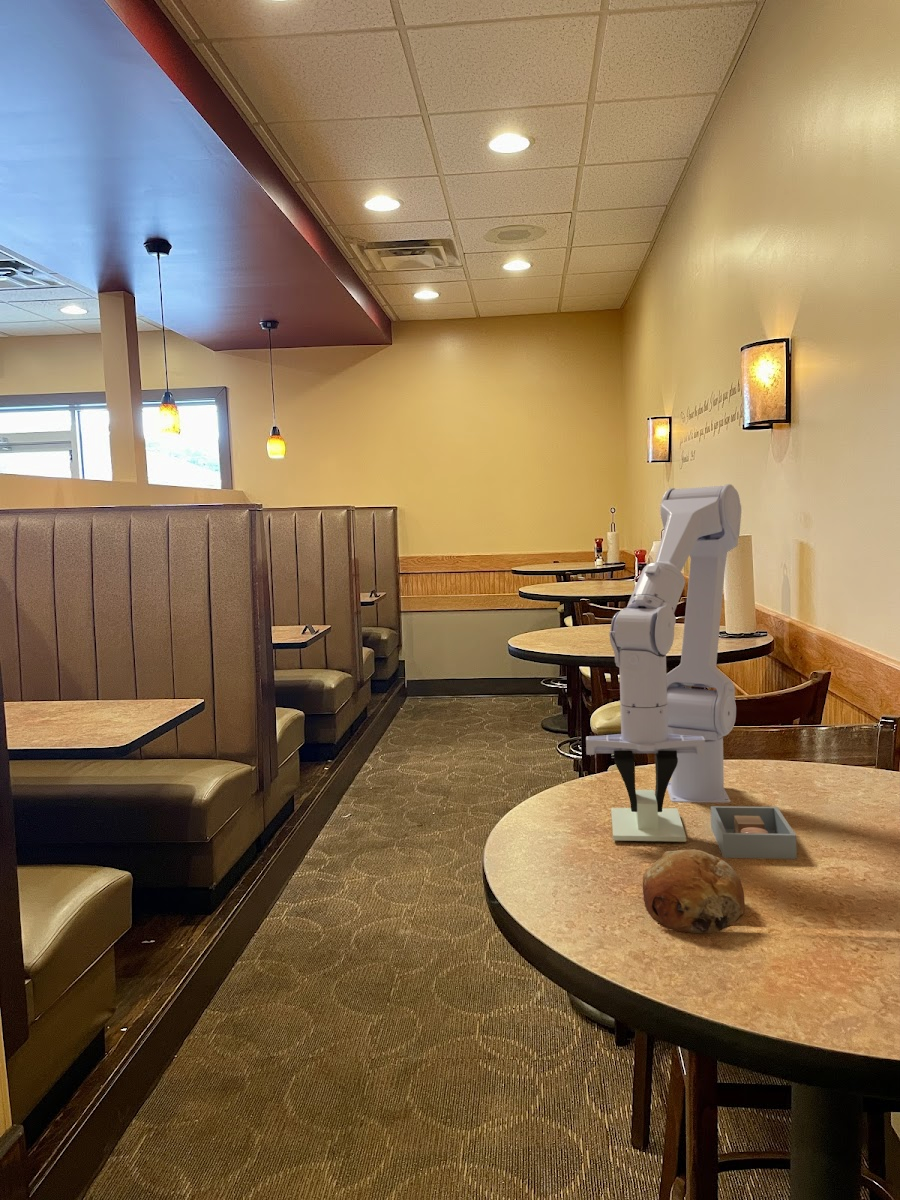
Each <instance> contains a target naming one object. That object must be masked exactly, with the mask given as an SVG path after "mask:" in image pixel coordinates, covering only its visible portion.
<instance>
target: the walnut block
mask: <svg viewBox="0 0 900 1200" xmlns="http://www.w3.org/2000/svg"><path fill="white" fill-rule="evenodd" d="M748 827H756V828H761V829H764V823H763V821H762V819H761V818H760V816H734V833H741V830H742V829H743V828H748Z"/></svg>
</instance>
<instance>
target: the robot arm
mask: <svg viewBox="0 0 900 1200" xmlns="http://www.w3.org/2000/svg"><path fill="white" fill-rule="evenodd" d="M741 504H742V503H741V498H740V494H739V491H737V489H736V487H734V485H733V484H730V483H729V484H724V485H718V486H717V485H716V486H705V487H704V486H701V487H700V486H699V487H688V488H686V487H685V488H675V487H672V488H668V489H667V490H666V491H665V492H664V494H663V496H662V497H661V502H660V510H659V511H660V518H661V522H662V526H663V532H662V536H661V538H660V539H661V540H660V543H659V546H658V549H657V552H656V557H655V559H654V562H651V563H648V564H646V565H644V567H643V568H642V570H641V573H640V575H639V577H638V579H637V582H636V584H635V587H634V589H633V591H632V594H631V596H630V598H629V601H628V603H627V606H626V607H623V608H622V609H620V611H617V612H616V613H615V614H614V615H613V616H612V619H611V624H610V631H609V633H608V634H609V642H610V645H611V648H612V650H613V654H614V663H615V666H616V667H617V668H619V695H620V696H619V698H620V699H619V701H620V704H619V705H620V733H617V734H616V733H615V734H606V735H605V734H604V735H589V736H585V746H586V747H585V752H586V753H585V754H586V755H587V756H588V755H589V756H593V755H596V754H613V760H614V764H615V766H616V768H617V770H618V772H619V774H620V776H621V779H622V781H623V783H624V786H625V788H626V791H627V794H628V798H629V803H630V808H631V811H632V812H637V800H636V791H635V790H636V763H635V762H636V761H635V755H634V754H654V764H655V765H654V767H655V790H654V792H655V796H656V800H657V805H658V812H662V808H663V806H664V799H665V796H666V791H667V792H668V796H669V799H670V802H672V803H712V804H713V803H715V804H716V803H718V804H719V803H723V804H725V803H726V804H728V803H731V799H730V796H729V795H728V793H727V791H726V789H725V785H724V783H725V781H724V780H725V779H724V776H725V775H724V771H725V770H724V737H725V736H727V735H729V734H730V733H731V732H732V730H733V728H734V725H735V723H736V718H737V705H736V697H735V696H736V695H735V694H736V688H735V684H734V682H733V681H732V679H731V678H729V677H728V676H727V675H726V674H725V673H723V672H722V671H721V670H720V668H718V667H717V662H718V661H717V660H718V652H719V651H718V649H719V638H720V630H721V629H720V627H721V619H722V618H721V615H722V605H723V596H724V595H723V593H724V584H725V583H724V581H725V572H726V563H727V556H728V553H729V552H731V550H733V549H735V548H737V547H738V545H739V537H740V535H741V534H740V530H741V522H742V505H741ZM689 557H690V560H689V561H690V563H689V571H688V572H689V573H688V582H687V583H688V584H687V594H686V595H687V596H686V605H685V615H684V625H683V633H682V634H683V635H682V636H683V637H682V643H681V644H682V646H681V658H680V663H679V665H678V666H675V668H673V669H672V670H670V671H669V672H667V654H668V653H669V652H670V650H671V648H672V646H673V643H674V639H675V626H676V623H677V622H676V620H677V618H676V616H675V612H676V610H677V606H678V604H679V601H680V599H681V596H682V595H683V594H682V593H683V591H684V587H685V585H686V579H685V576H684V575H683V573H682V570H683V568H684V566H685V565H686V563H687V561H688V559H689ZM692 687H698V688H692ZM703 688H705V689H703ZM706 688H708V689H706ZM709 688H710V689H709Z"/></svg>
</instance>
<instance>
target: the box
mask: <svg viewBox="0 0 900 1200" xmlns="http://www.w3.org/2000/svg"><path fill="white" fill-rule="evenodd" d="M734 816H760V818H761V819H762V821H763V823H764V830H766V831H768V833H734ZM710 828H711V831H712V833H713V836H714V838H715V840H716V843H717V845H718V846H717V847H718V848H719V851H720V853H721V856H722V858H724V859H727V858H729V859H763V860H764V859H765V860H766V859H767V860H768V859H769V860H771V859H774V860H776V859H777V860H782V859H783V860H797V859H798V857H797V855H798V853H797V834H796V833H795V831H794V830H793V828H792V827H791V825H790V824H789V822H788V821H787V819H786V818H785V816H784V815H783V813H782V812H781V810H780V809H779V807H778V806H738V805H737V806H730V805H729V806H727V805H726V806H722V805H721V806H720V805H717V806H716V805H715V806H714V805H711V806H710Z"/></svg>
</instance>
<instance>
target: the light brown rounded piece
mask: <svg viewBox="0 0 900 1200" xmlns="http://www.w3.org/2000/svg"><path fill="white" fill-rule="evenodd" d="M741 833H768V831H766V830H764V829H761V828H756V827H748V828H743V829H742V830H741Z"/></svg>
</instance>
